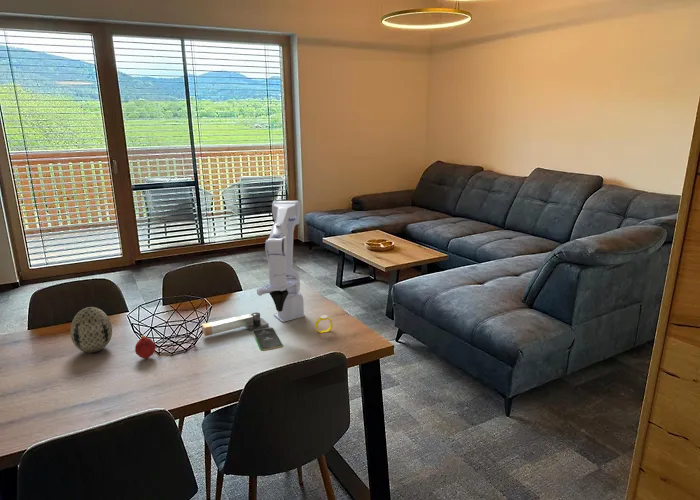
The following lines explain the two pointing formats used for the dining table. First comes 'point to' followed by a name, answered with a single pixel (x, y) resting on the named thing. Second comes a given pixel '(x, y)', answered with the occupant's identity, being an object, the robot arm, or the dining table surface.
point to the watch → (324, 317)
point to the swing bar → (230, 323)
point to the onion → (145, 347)
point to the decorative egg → (91, 330)
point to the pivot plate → (258, 325)
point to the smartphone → (267, 339)
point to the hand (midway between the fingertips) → (279, 310)
